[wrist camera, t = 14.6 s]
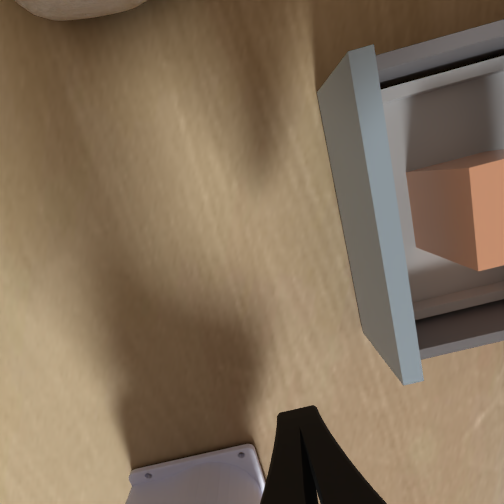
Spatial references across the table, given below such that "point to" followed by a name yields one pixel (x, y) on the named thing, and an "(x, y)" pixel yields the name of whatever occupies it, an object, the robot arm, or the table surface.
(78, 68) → the table surface
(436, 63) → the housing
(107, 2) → the stone
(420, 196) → the block
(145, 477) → the robot arm
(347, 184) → the tray
